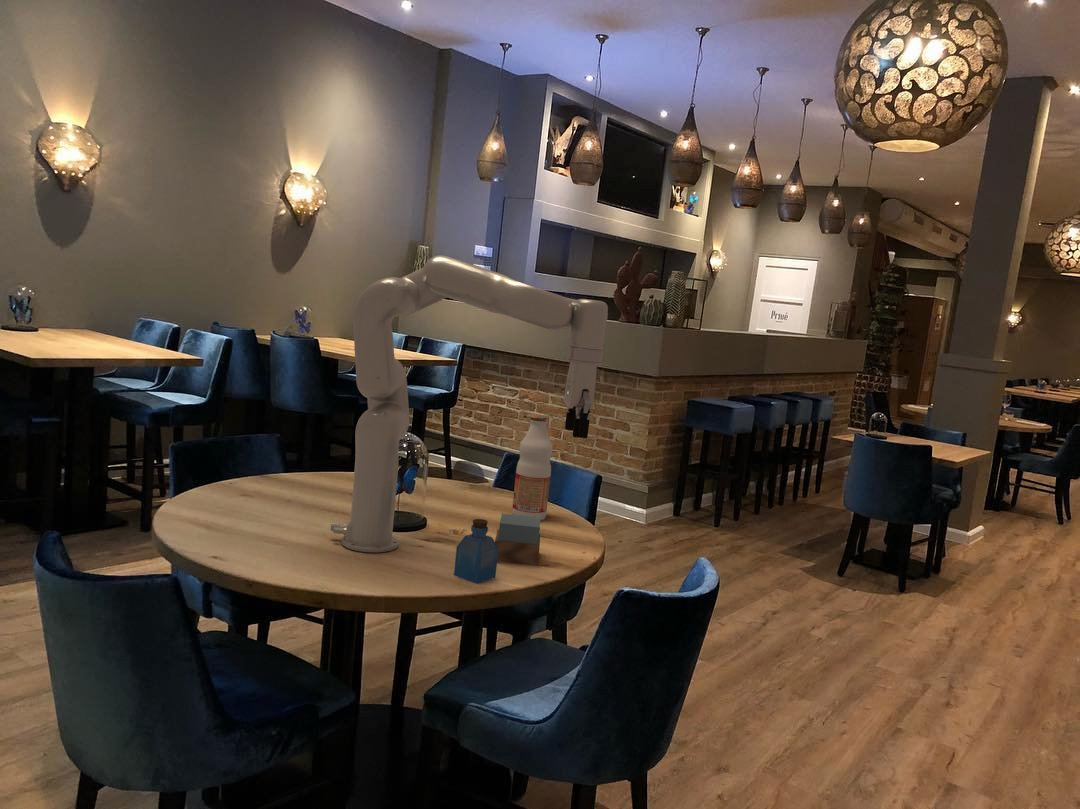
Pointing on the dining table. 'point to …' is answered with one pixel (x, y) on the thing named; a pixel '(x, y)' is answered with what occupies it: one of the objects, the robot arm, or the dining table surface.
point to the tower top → (519, 529)
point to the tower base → (517, 552)
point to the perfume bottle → (476, 554)
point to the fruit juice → (533, 471)
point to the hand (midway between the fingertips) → (575, 433)
